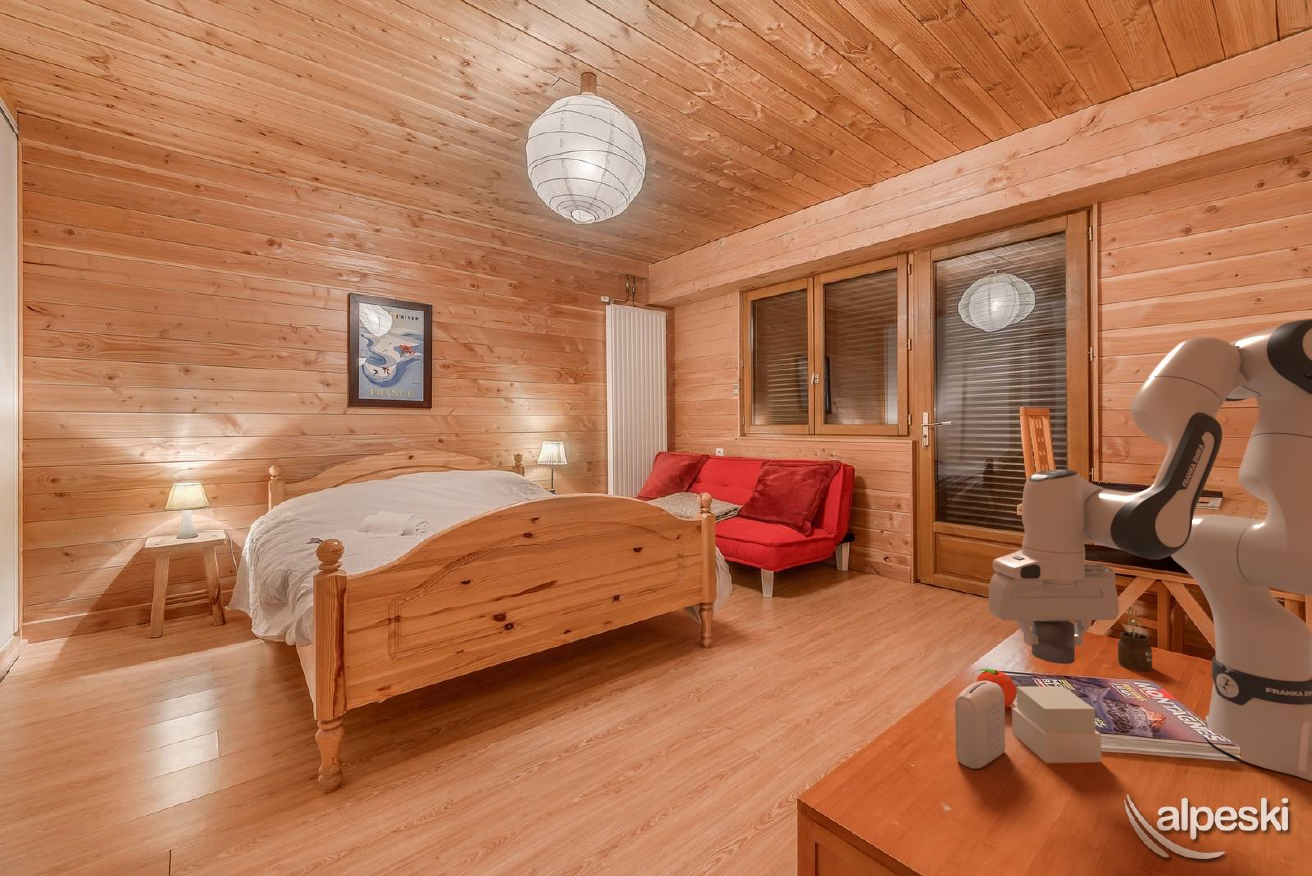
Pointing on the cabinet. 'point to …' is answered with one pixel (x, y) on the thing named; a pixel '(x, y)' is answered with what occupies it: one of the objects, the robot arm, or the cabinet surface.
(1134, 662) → the utensil holder
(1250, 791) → the cabinet surface
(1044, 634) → the charcoal cylinder
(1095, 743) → the tower bottom block
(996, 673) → the clementine
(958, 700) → the photo printer
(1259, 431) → the robot arm
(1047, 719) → the tower top block
